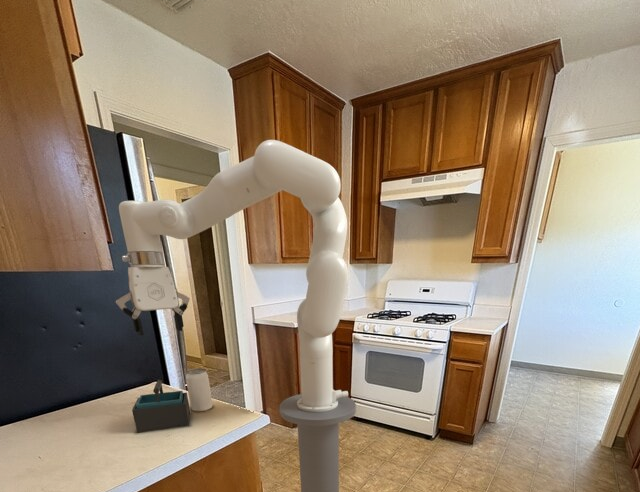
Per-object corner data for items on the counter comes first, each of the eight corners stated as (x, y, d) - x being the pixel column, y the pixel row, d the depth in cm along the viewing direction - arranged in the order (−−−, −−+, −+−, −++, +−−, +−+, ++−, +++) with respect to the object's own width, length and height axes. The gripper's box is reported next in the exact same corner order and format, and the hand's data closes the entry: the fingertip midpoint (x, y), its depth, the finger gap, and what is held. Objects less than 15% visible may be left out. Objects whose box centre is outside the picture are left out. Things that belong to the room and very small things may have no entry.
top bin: (186, 412, 106) (180, 377, 101) (185, 423, 98) (178, 386, 94) (145, 417, 103) (137, 382, 98) (141, 428, 95) (132, 390, 91)
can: (198, 413, 106) (191, 375, 102) (187, 408, 110) (180, 371, 106) (216, 407, 111) (211, 370, 106) (206, 403, 115) (200, 367, 110)
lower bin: (190, 413, 107) (186, 392, 104) (189, 426, 98) (185, 403, 96) (143, 418, 103) (138, 397, 101) (137, 433, 95) (131, 410, 92)
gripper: (109, 260, 78) (127, 338, 85) (187, 260, 88) (198, 330, 94) (103, 261, 83) (121, 334, 90) (178, 261, 93) (189, 327, 100)
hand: (160, 332), depth 92 cm, fingers open, 9 cm apart
